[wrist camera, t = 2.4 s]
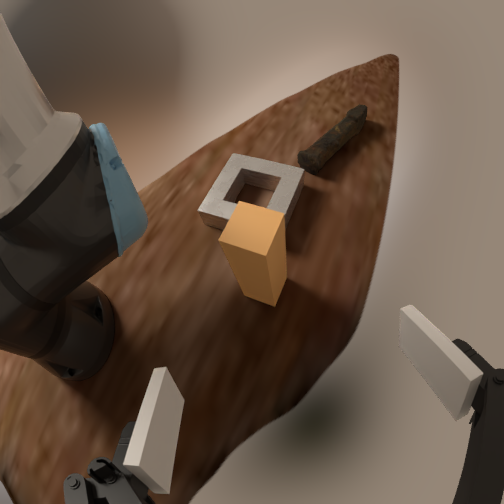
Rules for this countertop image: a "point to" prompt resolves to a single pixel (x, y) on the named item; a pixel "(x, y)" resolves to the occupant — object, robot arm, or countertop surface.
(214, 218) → the square frame
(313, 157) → the hand tool
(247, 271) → the orange rectangular block
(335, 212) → the countertop surface
